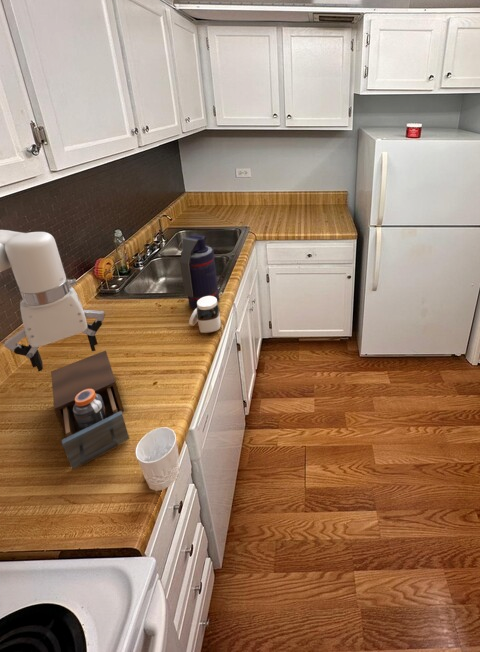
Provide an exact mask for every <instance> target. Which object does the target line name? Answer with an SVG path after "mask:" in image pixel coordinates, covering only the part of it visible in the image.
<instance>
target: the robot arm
mask: <svg viewBox="0 0 480 652" xmlns="http://www.w3.org/2000/svg"><path fill="white" fill-rule="evenodd" d="M56 242H57V241H56V240H55V237H54V236H53V235H52V234H51V233H49V232H46V231H32V232H21V231H14V230H9V229H0V273H2V272H4V271H6V270H8V269H10V268H11V271H12V273H13V276H14V279H15V281H16V284H17V286H18V290H19V293H20V296H21V298H22V300H21V301H20V303H19V307H20V309H19V310H20V315H21V321H22V325H23V328H22V329H20V330H19V331H17V332H16V333H15V334H13V335H12V336H11V337H10V338H8V339H6V340H4V341H5V342H4V348H6V349H7V350H9V351H11V352H13V353H14V354H15V355H19V356H24V357H26V358H27V359H29V361H30V363H31V366H32V368H33V369H34V368H37V371H38V372H42V370H44V365H43V364H44V363H43V359H42V357H41V354H40V351H39V348H40V347H44V346H46V345H50V344H53V343H56V342H59V341H63V340H65V339H68V338H71V337H74V336H77V335H79V334H81V333H82V334H85V335H86V336H87V340H88V343H89V347H90V350H91V352H96V350H97V349H96V347H95V346H97V345H98V340H97V337H96V335H97V332H98V331H99V329H100V328H101V327H102V325H103V322H104V319H105V316H106V313H105V311H104V310H95V309H94V310H93V309H84V307H83V304H82V301H81V299H80V297H79V295H78V293H77V292H76V289H75V288H74V286H76V285H77V284H78V283H77V279H76V278H73V279H71V278H70V279H69V278H67V275H66V272H65V269H64V266H63V262H62V259H61V256H60V252H59V248H58V246H57V243H56ZM87 318H91V319H92V318H94V319H95V320H94V321H93V323H88V320H87ZM25 338H26V339H27V343H28V345H24V344H21V343H20V344H19V342H20V341H22V340H23V339H25Z"/></svg>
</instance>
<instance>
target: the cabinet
mask: <svg viewBox="0 0 480 652" xmlns="http://www.w3.org/2000/svg"><path fill="white" fill-rule="evenodd" d="M114 375H115V374H114V372H113V369H112V366H111V362H110V359H109V357H108V353H107V350H103V351H100V352H98V353H95V354H93V355H89V356H88V357H85V358H82V359H80V360H77V361H74V362H72V363H70V364H67V365H63V366H61V367H58V368H56V369H53V370H51V371H50V377H51V387H52V388H51V389H52V398H53V409H54V412H55V415H56V417H57V419H58V422H59V424H60V427H61V430H62V432H63V434H64V437H65V438H67V436H66V431H65V423H64V414H63V408H64V407H67V406H69V405H71V404H73V403H75V397H76V395H77V394H78V393H80V392H81V391H83V390H86V389H93V390H94V391H95V393H98V392H100V391H102V390H105V389H107V388H109V387H110V388H111V391H112V394H113V398H114V401H115V404H116V408H117V411H118V412H120V411H122V412H124V411H125V408H124V406H123V402H122V398H121V396H120V391H119V389H118V385H117V382H116V379H115V376H114Z"/></svg>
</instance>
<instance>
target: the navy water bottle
mask: <svg viewBox="0 0 480 652" xmlns="http://www.w3.org/2000/svg"><path fill="white" fill-rule="evenodd" d="M181 244H182V245H181ZM180 246H181V248H180ZM178 249H179V250H180V251H181V252H180V260H179V261H180V265H179V266H180V269H181V270H180V271H181V279H182V286H183V291H184V296H186V297H187V300H188V306H189V307H190V309H191V308H192V309H194V310H195V309H196V308H197V301H198V300H199V299H200V298H202V297H205V296H214V297H216V298H217V303H218V304H219V301H220V295H219V285H218V278H217V269H216V268H217V267H216V261H215V252H214V248H213V247H212V246H210V245H208V244H207V236H205V235H200V234H195V233H193V234H189V235H185V237H183V238H182V240H181V241H180V242H179V244H178Z"/></svg>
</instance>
